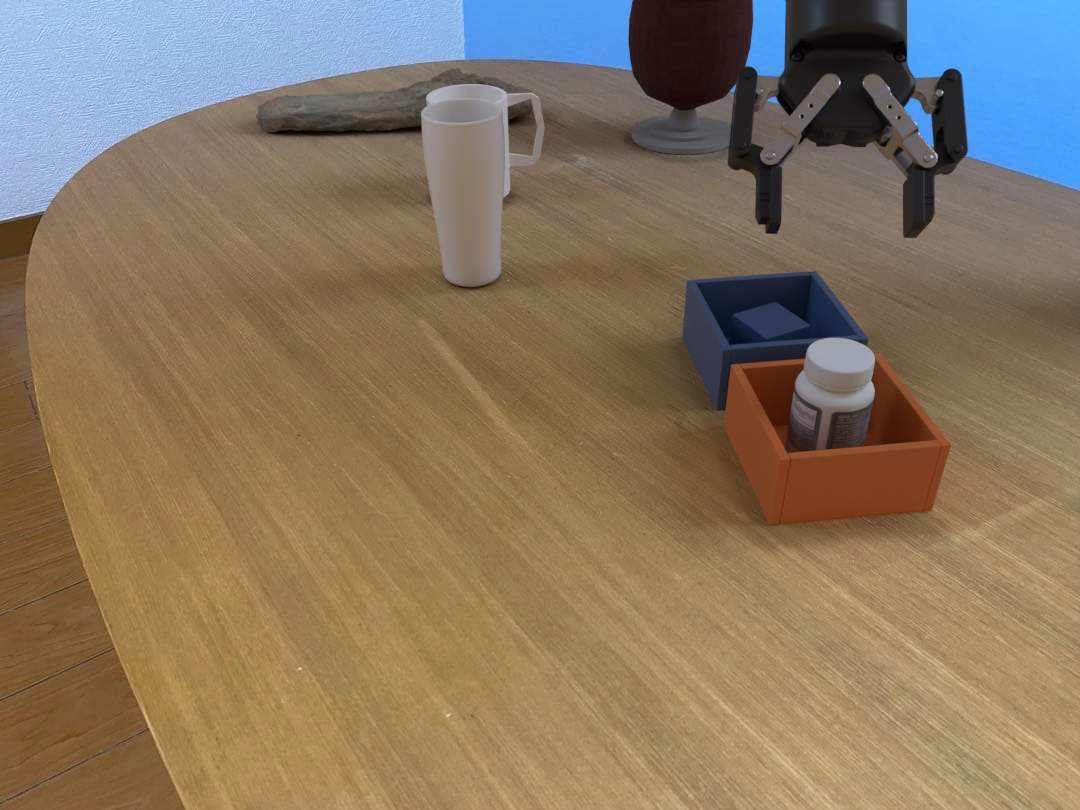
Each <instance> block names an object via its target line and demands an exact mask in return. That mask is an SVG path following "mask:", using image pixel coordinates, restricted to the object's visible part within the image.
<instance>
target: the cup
mask: <svg viewBox="0 0 1080 810" xmlns="http://www.w3.org/2000/svg"><path fill="white" fill-rule="evenodd" d="M532 93H533V92H532ZM532 93H516V94H507V93H506V92H505V91H504V90H502V89H500V88H497V87H494V86H489V85H481V84H462V85H453V86H447V87H443V88H439V89H437V90H434V91H432V92H430V93H429V94H428V95H427V97H426V100H427V106H428V105H430V104H433V103H435V102H439V101H443V100H449V99H458V98H474V99H483V100H488V101H491V102H494V103H496V104H498V105H499V106H500V107H501V108H502V115H503V125H504V140H505V172H504V194H503V198H505V197H507V196H508V195H509V193H510V192H511V167H528V166H529V167H530V166H534V165H535V163H536V162H537V161H538V160H539V159H540V158H541V153H542V148H543V143H544V135H545V130H546V127H545V122H544V117H543V111H542V105H541V101H540V97H539V96H537V95H536V94H534V93H533V94H532ZM529 99H531V100H532V105H533V113H534V119H535V124H536V132H535V138H534V143H533V149H532V155H527V154H521V153H515V152H514V153H513V152H510V139H509V137H510V136H509V119H508V108H507V107H508V106H511V105H514V104H517V103H520V102H523V101H526V100H529Z"/></svg>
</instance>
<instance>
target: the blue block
mask: <svg viewBox="0 0 1080 810" xmlns="http://www.w3.org/2000/svg"><path fill="white" fill-rule="evenodd" d="M809 331H810V325H809V324H808V323H806V322H805V321H803V320H802V319H800V318H799V317H797V316H796V315H794V314H793V313H792V312H790V311H789V310H787V309H786V308H784V307H783V306H781V305H780V304H778V303H777V302H774V303H770V304H767V305H763V306H760V307H756V308H753V309H749V310H746V311H742V312H739V313H735V314H733V316H732V324H731V333H730V342H729V345H735V344H748V343H761V342H774V341H787V340H800V339H808V337H809Z"/></svg>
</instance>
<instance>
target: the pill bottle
mask: <svg viewBox="0 0 1080 810" xmlns="http://www.w3.org/2000/svg"><path fill="white" fill-rule="evenodd" d="M873 353H874V352H873V351H872V350H871V349H870V348H869V347H868V346H867V347H866V346H865V345H863V344H861V343H859V342H856V341H853V340H850V339H845V338H825V339H821V340H818V341H815V342H814V343H812V344H811V345H810V346H809V347H808V349H807V352H806V358H805V362H804V370H803V371H802V372H801V373H800V374H799V375H798V377H797V379H796V382H795V387H794V394H793V400H792V407H791V413H790V419H789V426H788V432H787V439H786V446H785V450H786V452H787V454H788V453H793V452H805V451H816V450H828V449H839V448H851V447H862V446H864V441H865V437H866V432H867V428H868V423H869V418H870V414H871V409H872V405H873V400H874V395H875V390H874V386H873V383H872V381H871V379H872V376H873V370H874V365H875V356H874V354H873Z"/></svg>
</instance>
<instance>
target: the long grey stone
mask: <svg viewBox="0 0 1080 810" xmlns="http://www.w3.org/2000/svg"><path fill="white" fill-rule="evenodd" d="M462 84H481V85H489V86H494V87H497V88H500V89H502V90H504V91H505V92H506V93H507V94H516V93H532V94H534V93H533V91H532V90H531V89H529V88H526V87H523V86H516V85H514V84H513V83H507V82H505V81H504V80H501V79H500V78H498V77H492V76H483V77H481V76H480V75H479V74H478V73H476V72H471V73H467V72H466V73H462V70H461V69H460V68H459V67H457V68H450V69H447V70H445V71H443V72H440V73H438V74H437V75H434V76H433V77H431V79H430V80H427V81H423V80H422V81H417V82H414V83H412V84H411V85H410V86H407V87H404V86H403V87H401V88H396V89H393V90H390V91H385V90H372V91H361V92H360V91H352V92H347V93H329V94H328V93H326V94H324V93H323V94H309V95H291V96H290V95H288V94H285V95H284V96H276V97H275V98H271V99H268V100H266V101H265V102H263V104H258V105H257V113H256V115H255V116H256V119H257V125H258V126H259V128H260V129H262V130H264V131H265V132H266V133H278V132H279V131H283V132H284V131H295V132H296V131H297V132H298V131H299V132H300V131H318V132H323V131H325V132H329V131H331V132H337V133H341V132H346V131H366V132H374V131H380V132H384V131H392V130H398V129H401V128H403V129H405V128H415V127H421V112H422V110H423V109H424V108H425V107H427V100H426V97H427V95H428V94H429V93H430V92H432V91H434V90H437V89H439V88H443V87H447V86H453V85H462ZM507 108H508V120H511V119H514V118H517V117H522V116H523V117H524V116H527V115H528V116H529V115H530V114H532V113H533V112H534V110H533V105H532V100H531V99H529V100H526V101H523V102H520V103H517V104H514V105H511V106H508V107H507Z"/></svg>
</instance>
